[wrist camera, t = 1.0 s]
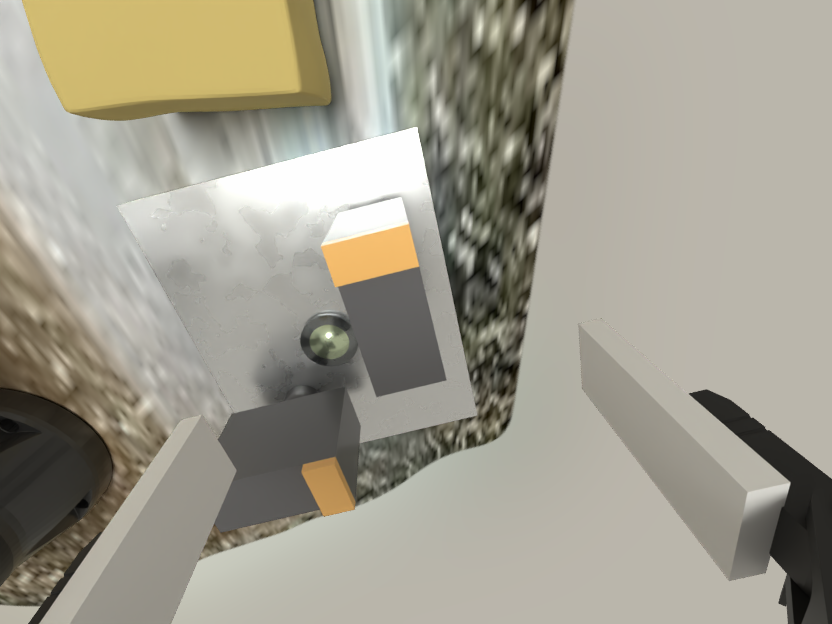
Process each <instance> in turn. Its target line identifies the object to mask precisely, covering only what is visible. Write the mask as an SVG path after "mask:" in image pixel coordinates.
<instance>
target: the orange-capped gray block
mask: <svg viewBox="0 0 832 624" xmlns="http://www.w3.org/2000/svg"><path fill="white" fill-rule="evenodd" d="M321 249H322V251H323V254H324V257H325V260H326V263H327V266H328V269H329V271H330V274H331V277H332V280H333V283H334V286H335V287H338V288H339V291H340V294H341V297H342V300H343V303H344V306H345V308H346V311H347V314H348V317H349V320H350V323H351V326H352V329H353V331H354V334H355V337H356V340H357V343H358V346H359V349H360V351H361V354H362V357H363V360H364V363H365V366H366V369H367V372H368V374H369V377H370V380H371V383H372V386H373V389H374V392H375V394H376V397H380V396H384V395H388V394H392V393H396V392H401V391H405V390H409V389H413V388H417V387H421V386H426V385H430V384H434V383H438V382H442V381H446V380H447V379H446V375H445V371H444V367H443V363H442V359H441V355H440V350H439V346H438V342H437V338H436V334H435V330H434V326H433V321H432V317H431V313H430V309H429V305H428V301H427V297H426V293H425V288H424V284H423V280H422V276H421V272H420V268H419V263H418V259H417V255H416V251H415V247H414V243H413V238H412V234H411V230H410V226H409V222H408V219H407V215H406V212H405V208H404V204H403V201H402V197H399V198H395V199H391V200H387V201H383V202H379V203H375V204H371V205H367V206H363V207H359V208H355V209H352V210H348V211H344V212H340V213H338V215H337V217H336V218H335V220H334V222H333V224H332V226H331V228H330V230H329V232H328V234H327V235H326V237H325V239H324V241H323V243H322V245H321Z"/></svg>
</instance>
